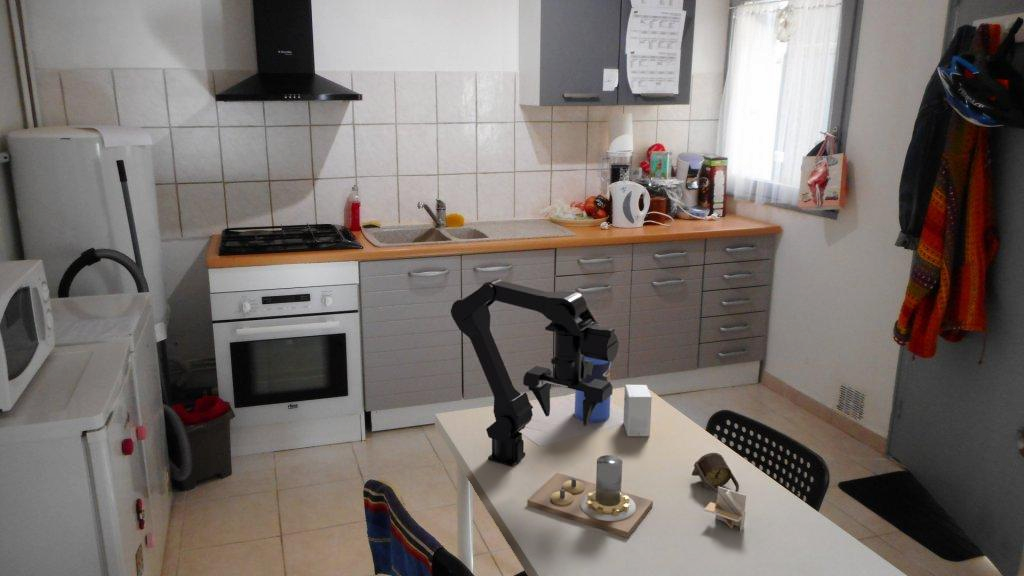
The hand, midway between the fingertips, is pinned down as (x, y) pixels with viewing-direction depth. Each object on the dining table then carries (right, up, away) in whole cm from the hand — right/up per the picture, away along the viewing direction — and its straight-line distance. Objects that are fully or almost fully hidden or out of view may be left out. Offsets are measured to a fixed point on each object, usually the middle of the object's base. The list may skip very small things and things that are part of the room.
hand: (566, 420), depth 162 cm
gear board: (+4, -16, -8) cm, 18 cm away
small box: (+19, -7, +25) cm, 32 cm away
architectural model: (+31, -18, -15) cm, 39 cm away
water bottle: (+9, -5, +33) cm, 35 cm away
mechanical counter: (+31, -15, -3) cm, 35 cm away
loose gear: (+8, -15, -11) cm, 20 cm away
